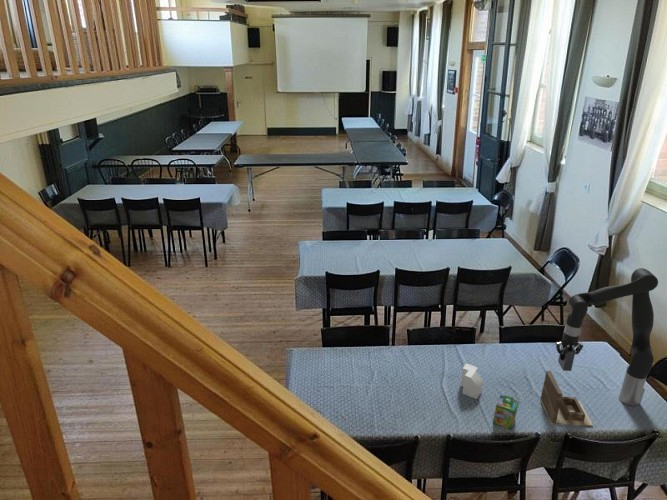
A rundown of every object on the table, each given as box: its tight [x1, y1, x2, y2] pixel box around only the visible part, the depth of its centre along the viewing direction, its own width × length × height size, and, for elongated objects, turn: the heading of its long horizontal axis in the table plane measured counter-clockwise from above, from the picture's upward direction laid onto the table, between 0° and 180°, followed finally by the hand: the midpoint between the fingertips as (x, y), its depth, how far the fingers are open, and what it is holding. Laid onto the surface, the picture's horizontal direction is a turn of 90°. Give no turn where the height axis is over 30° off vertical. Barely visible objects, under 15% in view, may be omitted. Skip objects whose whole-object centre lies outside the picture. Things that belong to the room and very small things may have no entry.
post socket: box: [540, 370, 594, 427], centre depth 246 cm, size 20×18×19 cm
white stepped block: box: [460, 363, 484, 400], centre depth 264 cm, size 11×11×12 cm
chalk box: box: [492, 395, 519, 430], centre depth 241 cm, size 9×9×15 cm
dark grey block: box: [557, 344, 576, 372], centre depth 256 cm, size 4×8×12 cm, turn 175°
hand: (565, 359), depth 257 cm, fingers closed on dark grey block, 4 cm apart
